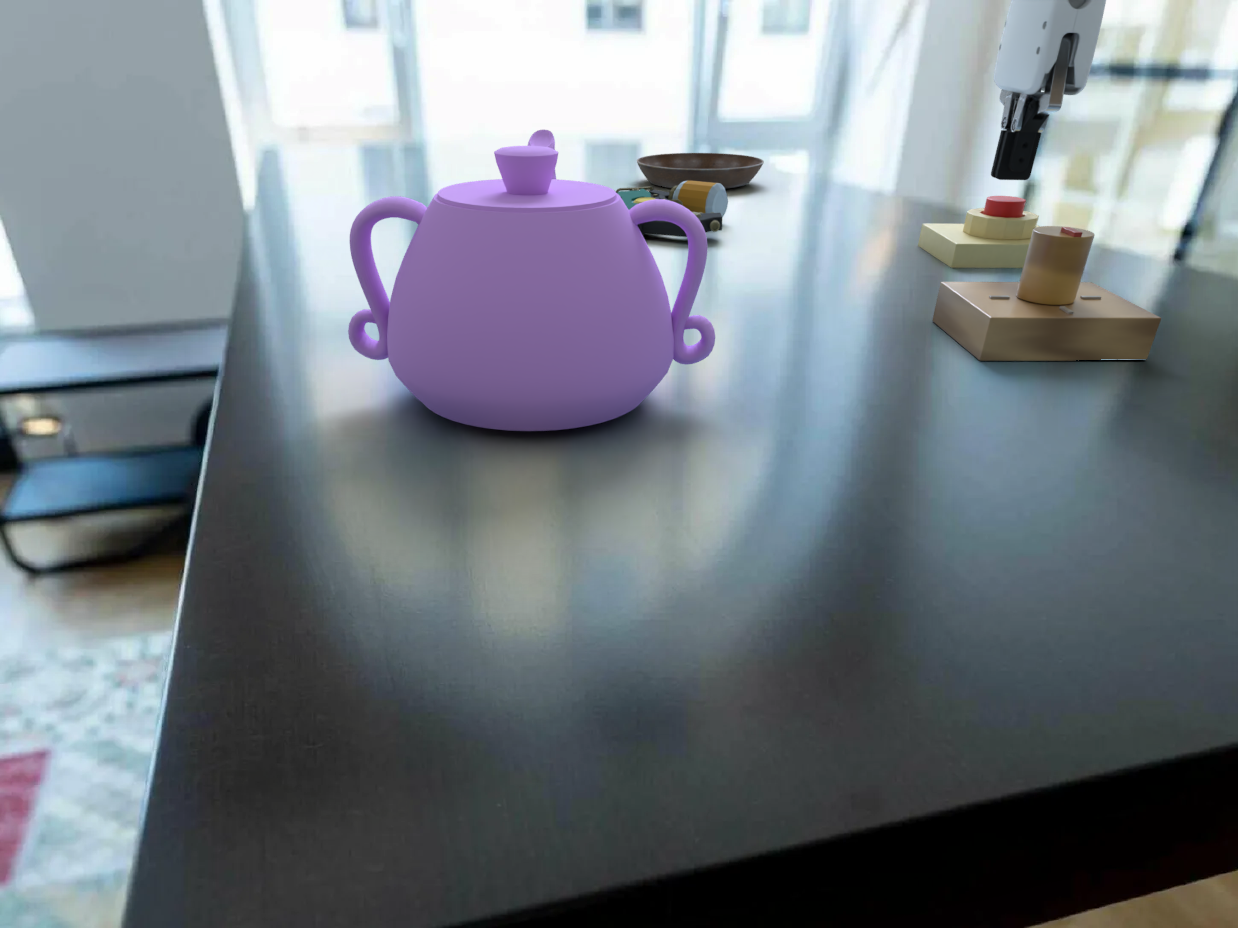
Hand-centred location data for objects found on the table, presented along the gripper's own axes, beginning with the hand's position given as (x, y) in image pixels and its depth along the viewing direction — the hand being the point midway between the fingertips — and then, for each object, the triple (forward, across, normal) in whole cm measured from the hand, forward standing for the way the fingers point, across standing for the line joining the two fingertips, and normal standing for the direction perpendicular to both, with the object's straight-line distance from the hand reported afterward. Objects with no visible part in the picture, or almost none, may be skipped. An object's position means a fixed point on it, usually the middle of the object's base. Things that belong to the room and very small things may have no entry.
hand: (1009, 178), depth 87 cm
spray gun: (+8, +14, +32) cm, 36 cm away
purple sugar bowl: (+8, -38, +45) cm, 59 cm away
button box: (+7, 0, 0) cm, 7 cm away
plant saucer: (+8, +46, +24) cm, 52 cm away
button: (+4, 0, 0) cm, 4 cm away
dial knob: (+4, -28, +8) cm, 29 cm away
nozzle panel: (+7, -28, +8) cm, 30 cm away
